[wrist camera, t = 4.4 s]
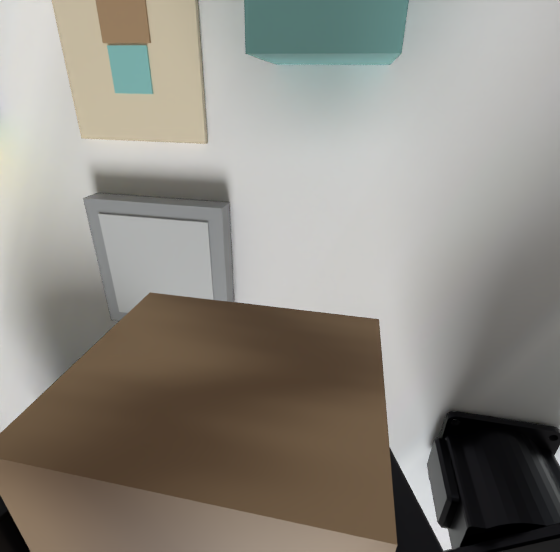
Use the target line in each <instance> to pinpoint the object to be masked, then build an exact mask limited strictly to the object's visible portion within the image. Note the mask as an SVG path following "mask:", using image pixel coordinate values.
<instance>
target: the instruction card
mask: <svg viewBox="0 0 560 552" xmlns="http://www.w3.org/2000/svg"><path fill="white" fill-rule="evenodd" d="M52 4H53V9H54V13H55V18H56V23H57V27H58V32H59V37H60V41H61V46H62V50H63V55H64V60H65V64H66V69H67V73H68V78H69V83H70V87H71V92H72V97H73V101H74V106H75V110H76V115H77V120H78V124H79V129H80V134H81V138H82V139H105V140H128V141H151V142H174V143H197V144H207V143H208V140H207V125H206V111H205V97H204V82H203V68H202V54H201V39H200V25H199V11H198V0H52Z"/></svg>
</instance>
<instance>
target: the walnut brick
mask: <svg viewBox="0 0 560 552" xmlns="http://www.w3.org/2000/svg"><path fill="white" fill-rule="evenodd" d="M0 495H1V497H2V499H3V501H4V503H5V505H6V507H7V509H8V510H9V512H10V514H11V516H12V518H13V520H14V522H15V524H16V525H17V527H18V529H19V531H20V533H21V535H22V537H23V538H24V540H25V542H26V544H27V546H28V548H29V550H30V552H395V551H396V548H397V535H396V522H395V510H394V498H393V486H392V474H391V461H390V449H389V437H388V425H387V412H386V400H385V388H384V376H383V363H382V351H381V339H380V327H379V319H372V318H363V317H355V316H346V315H338V314H329V313H321V312H312V311H304V310H295V309H287V308H278V307H270V306H261V305H253V304H244V303H236V302H227V301H219V300H210V299H202V298H193V297H185V296H176V295H168V294H159V293H151V292H150V293H149V294H148V295H147V296H145V297H144V298H143V299H142V300H141V301H140V302H139V303H138V304H137V305H136V306H135V307H134V308H133V309H132V310H131V311H130V312H129V313H127V314H126V315H125V316H124V317H123V318H122V319H121V320H120V321H119V322H118V323H117V324H116V325H115V326H114V327H113V328H112V329H111V330H109V331H108V332H107V333H106V334H105V335H104V336H103V337H102V338H101V339H100V340H99V341H98V342H97V343H96V344H95V345H94V346H92V347H91V348H90V349H89V350H88V351H87V352H86V353H85V354H84V355H83V356H82V357H81V358H80V359H79V360H78V361H77V362H76V363H74V364H73V365H72V366H71V367H70V368H69V369H68V370H67V371H66V372H65V373H64V374H63V375H62V376H61V377H60V378H59V379H57V380H56V381H55V382H54V383H53V384H52V385H51V386H50V387H49V388H48V389H47V390H46V391H45V392H44V393H43V394H42V395H41V396H39V397H38V398H37V399H36V400H35V401H34V402H33V403H32V404H31V405H30V406H29V407H28V408H27V409H26V410H25V411H24V412H23V413H21V414H20V415H19V416H18V417H17V418H16V419H15V420H14V421H13V422H12V423H11V424H10V425H9V426H8V427H7V428H6V429H4V430H3V431H2V432H1V433H0Z"/></svg>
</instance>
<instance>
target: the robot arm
mask: <svg viewBox="0 0 560 552" xmlns="http://www.w3.org/2000/svg"><path fill="white" fill-rule="evenodd" d="M454 419H457V420H454ZM559 446H560V430H559V429H558V428H556V427H553V426H546V425H540V424H533V423H527V422H520V421H514V420H507V419H501V418H494V417H488V416H481V415H475V414H468V413H462V412H449V413H448V414H447V415H446V417H445V420H444V423H443V426H442V430H441V433H440V436H439V438H438V437H437V438H436V439H435V440H434V443H433V446H432V449H431V453H430V456H429V459H428V463H427V467H428V475H429V480H430V483H431V489H432V495H433V500H434V506H435V511H436V517H437V522H438V523H439V525H440V526H441V527H442V528H447V529H448V532H449V536H450V541H451V546H452V549H449V550H445V551H443V549H442V547H441V545H440V543H439V541H438V539H437V537H436V535H435V534H434V532H433V530H432V528H431V526H430V524H429V522H428V520H427V518H426V516H425V514H424V512H423V510H422V509H421V507H420V505H419V503H418V501H417V499H416V497H415V495H414V493H413V491H412V489H411V487H410V485H409V484H408V482H407V480H406V478H405V476H404V474H403V472H402V470H401V468H400V466H399V464H398V462H397V460H396V459H395V457H394V455H393V453H392V451H391V449H390V447H389V449H390V461H391V474H392V486H393V498H394V510H395V522H396V535H397V548H396V551H395V552H560V466H559V464H558V462H557V460H556V458H555V456H554V455H555V453H556V451H557V449H558V447H559ZM0 552H30V550H29V548H28V546H27V544H26V542H25V540H24V538H23V537H22V535H21V533H20V531H19V529H18V527H17V525H16V524H15V522H14V520H13V518H12V516H11V514H10V512H9V510H8V509H7V507H6V505H5V503H4V501H3V499H2V497H1V495H0Z"/></svg>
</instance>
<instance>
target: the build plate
mask: <svg viewBox="0 0 560 552" xmlns="http://www.w3.org/2000/svg"><path fill="white" fill-rule="evenodd" d="M83 200H84V204H85V209H86V213H87V217H88V222H89V226H90V230H91V235H92V239H93V243H94V248H95V252H96V256H97V261H98V265H99V269H100V274H101V278H102V282H103V286H104V291H105V295H106V299H107V304H108V308H109V312H110V317H111V320H115V321H120V320H121V319H122V318H123V317H124V316H125V315H126V314H127V313H129V312H130V311H131V310H132V309H133V308H134V307H135V306H136V305H137V304H138V303H139V302H140V301H141V300H142V299H143V298H144V297H145V296H147V295H148V294H149V293H150V292H151V293H159V294H168V295H176V296H185V297H193V298H202V299H210V300H219V301H227V302H234V291H233V270H232V249H231V228H230V207H229V202H217V201H203V200H189V199H175V198H161V197H147V196H133V195H118V194H104V193H96V194H93V195H90V196H88V197H85V198H83Z"/></svg>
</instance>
